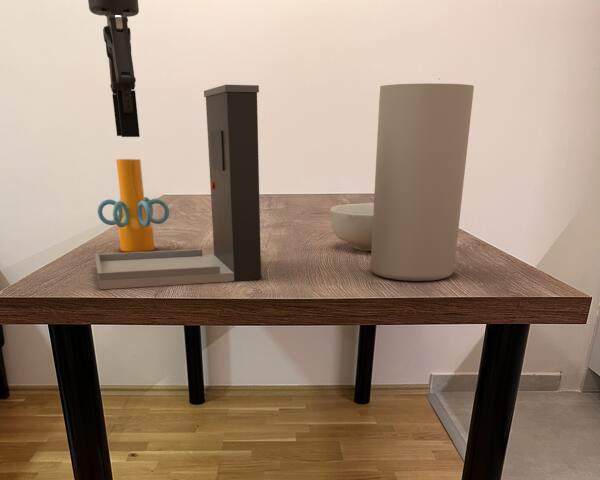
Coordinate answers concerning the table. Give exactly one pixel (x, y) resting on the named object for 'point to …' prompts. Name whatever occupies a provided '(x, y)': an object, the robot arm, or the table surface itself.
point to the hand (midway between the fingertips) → (127, 136)
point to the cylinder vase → (419, 179)
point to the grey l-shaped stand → (225, 207)
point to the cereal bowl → (354, 224)
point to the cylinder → (133, 209)
